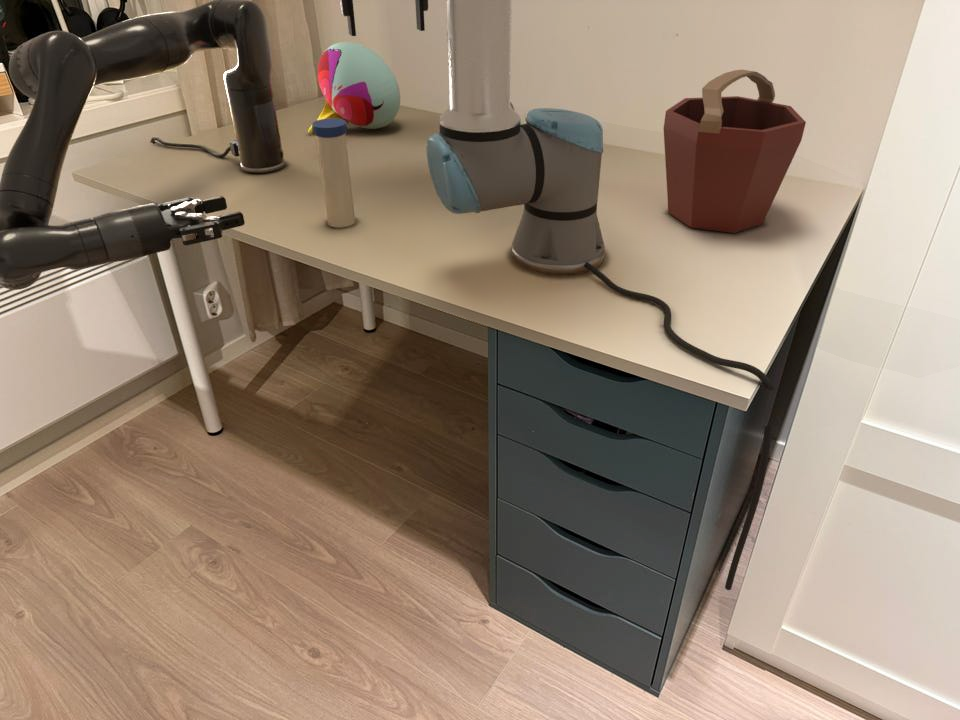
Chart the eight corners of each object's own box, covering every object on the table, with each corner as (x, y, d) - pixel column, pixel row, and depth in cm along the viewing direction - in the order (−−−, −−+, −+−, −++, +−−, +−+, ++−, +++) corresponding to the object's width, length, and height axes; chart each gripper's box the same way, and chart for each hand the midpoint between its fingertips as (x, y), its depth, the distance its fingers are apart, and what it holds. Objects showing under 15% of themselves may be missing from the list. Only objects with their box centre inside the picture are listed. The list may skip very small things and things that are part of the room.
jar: (360, 221, 130) (350, 125, 120) (338, 230, 127) (326, 131, 117) (344, 214, 133) (332, 119, 123) (322, 222, 130) (308, 125, 120)
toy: (277, 110, 181) (275, 51, 163) (352, 72, 191) (358, 13, 173) (336, 175, 178) (341, 122, 160) (410, 134, 188) (421, 79, 170)
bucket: (710, 250, 119) (740, 96, 105) (622, 208, 134) (638, 69, 120) (804, 218, 129) (843, 75, 115) (713, 183, 145) (736, 53, 131)
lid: (354, 131, 121) (353, 122, 120) (326, 139, 117) (325, 130, 117) (334, 125, 124) (332, 116, 123) (306, 132, 121) (304, 123, 120)
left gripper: (136, 225, 102) (245, 200, 110) (114, 196, 112) (215, 176, 120) (150, 271, 107) (254, 245, 114) (127, 240, 116) (224, 217, 124)
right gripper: (437, -101, 131) (441, 24, 143) (302, -99, 123) (318, 33, 135) (451, -100, 125) (454, 30, 137) (310, -98, 117) (326, 40, 129)
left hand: (234, 209), depth 117 cm, fingers open, 8 cm apart
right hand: (387, 32), depth 136 cm, fingers open, 13 cm apart
